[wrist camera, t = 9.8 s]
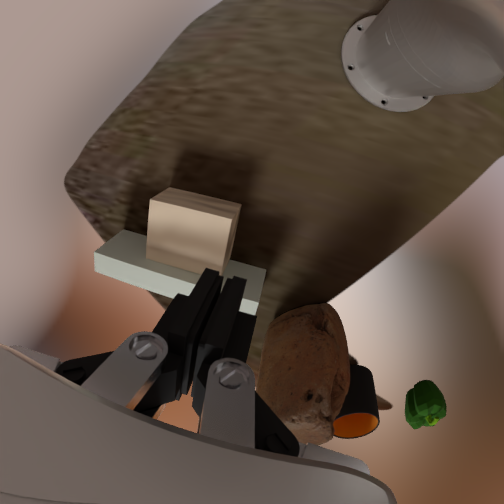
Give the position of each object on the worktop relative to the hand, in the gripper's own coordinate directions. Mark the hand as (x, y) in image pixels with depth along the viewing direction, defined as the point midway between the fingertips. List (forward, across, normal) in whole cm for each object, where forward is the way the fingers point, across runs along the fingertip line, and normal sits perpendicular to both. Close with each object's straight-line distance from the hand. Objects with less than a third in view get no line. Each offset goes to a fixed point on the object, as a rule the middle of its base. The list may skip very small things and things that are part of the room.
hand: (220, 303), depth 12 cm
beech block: (+27, +8, +9) cm, 30 cm away
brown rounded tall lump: (+27, -10, +20) cm, 35 cm away
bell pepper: (+27, -38, +30) cm, 56 cm away
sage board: (+27, +9, +14) cm, 32 cm away
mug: (+27, -21, +32) cm, 47 cm away
